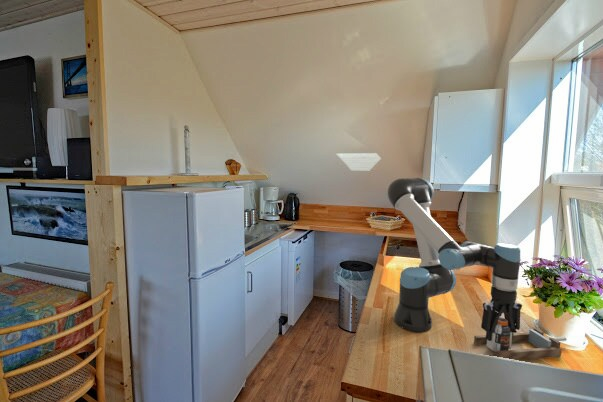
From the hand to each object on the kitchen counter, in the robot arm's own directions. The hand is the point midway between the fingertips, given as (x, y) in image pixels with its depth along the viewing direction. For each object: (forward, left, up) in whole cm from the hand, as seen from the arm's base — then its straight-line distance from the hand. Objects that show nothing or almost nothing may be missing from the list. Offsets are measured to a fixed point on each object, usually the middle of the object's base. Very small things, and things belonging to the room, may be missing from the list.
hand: (498, 347), depth 103 cm
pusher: (+21, 0, -1) cm, 22 cm away
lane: (+7, 0, -1) cm, 7 cm away
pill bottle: (0, 0, 0) cm, 0 cm away
